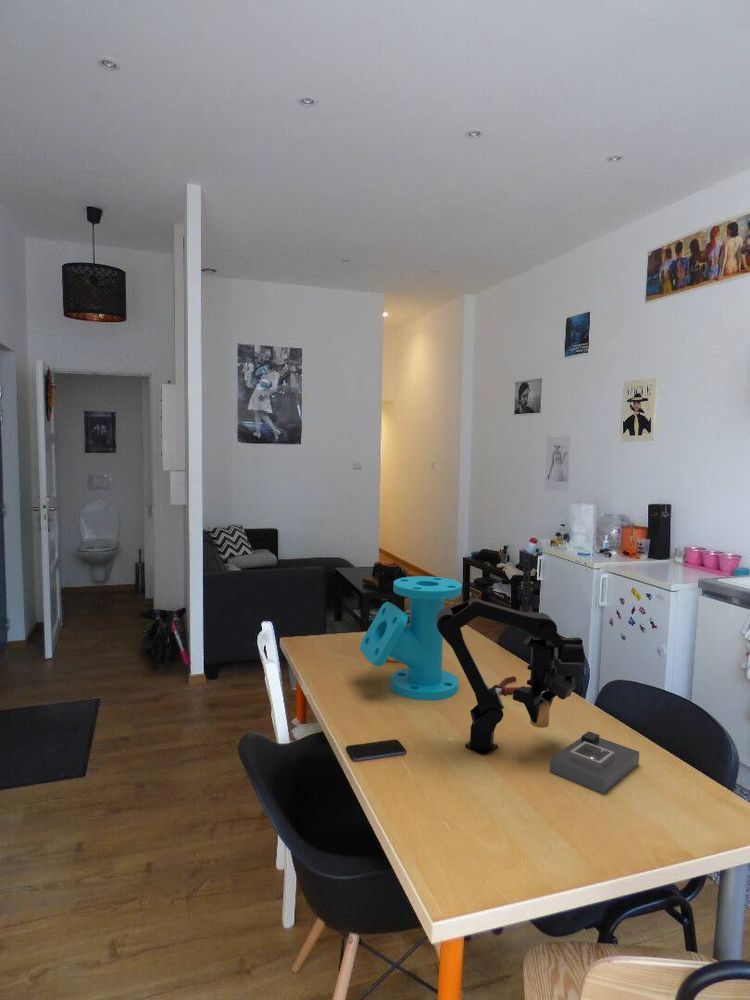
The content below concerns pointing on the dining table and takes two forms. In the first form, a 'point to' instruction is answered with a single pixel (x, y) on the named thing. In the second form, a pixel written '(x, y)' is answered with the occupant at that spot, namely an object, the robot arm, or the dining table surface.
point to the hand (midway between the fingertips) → (539, 719)
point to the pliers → (506, 690)
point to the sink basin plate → (594, 762)
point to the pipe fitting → (414, 638)
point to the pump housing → (542, 715)
